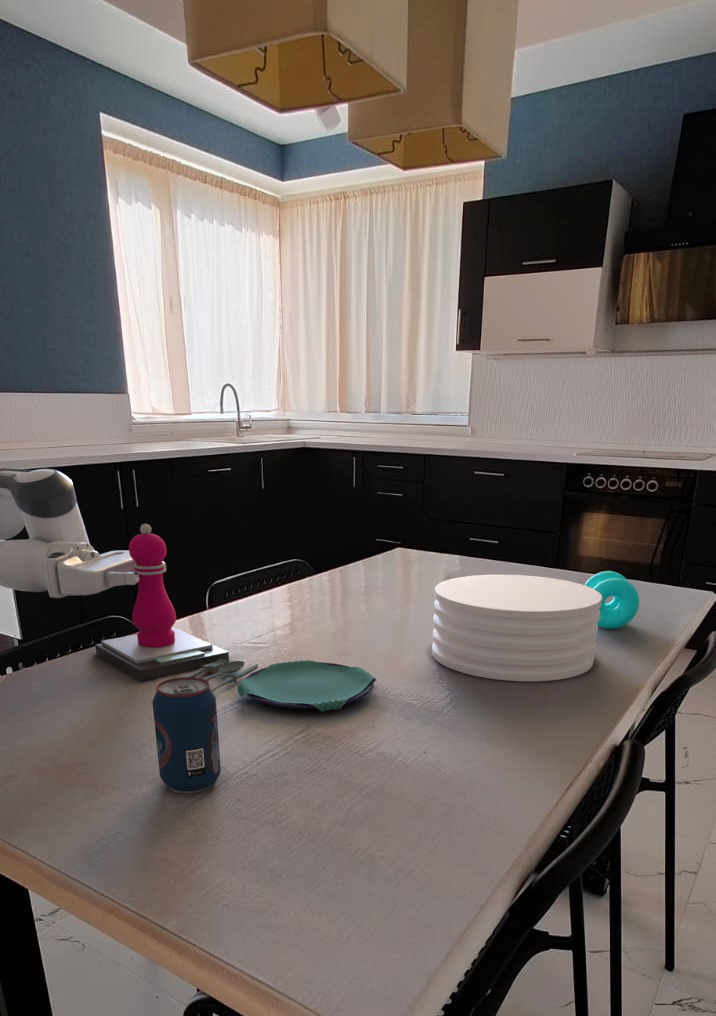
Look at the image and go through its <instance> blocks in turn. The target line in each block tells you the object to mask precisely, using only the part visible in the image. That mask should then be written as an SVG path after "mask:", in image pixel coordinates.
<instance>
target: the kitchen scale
mask: <svg viewBox="0 0 716 1016" xmlns="http://www.w3.org/2000/svg"><path fill="white" fill-rule="evenodd" d="M171 630H173V631H174V633H175V642H174V643H173V644H171V645H168V646H164V647H144V646H141V645H139V644H138V638H137V634H133V635H132V634H131V635H126V636H120V637H115V638H109V639H104V640H101V643H97V644H95V645H94V646H95V654H96V655H97V656H98V657H100V658H102V659H103V660H105V661H107V662H108V663H110V664H112V665H114V666H115V667H117V668H118V669H120V670H122V671H124V672H125V673H127V674H129V675H130V676H132V677H134V678H136V679H138V681H141V682H145V681H148V680H153V679H158V678H161V677H162V678H163V677H167V676H172V675H175V674H181V673H185V672H189V671H193V670H199V669H200V668H202V665H207V664H210V663H213V662H216V661H218V660H220V659H221V661H222V660H225V661H226V660H228V661H227V662H226V663H229V662H230V655H229V654H230V653H229V651H228V650H225V649H222V648H220V647H218V646H217V645H214V644H212V643H209V642H207V641H205V640H202V639H200V638H198V637H196V636H194V635H191V634H190V633H188V632H185V631H183V630H180V629H179V628H175V627H172V628H171Z"/></svg>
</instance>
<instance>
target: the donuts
mask: <svg viewBox="0 0 716 1016" xmlns="http://www.w3.org/2000/svg"><path fill="white" fill-rule="evenodd" d="M584 585H585V586H588V587H590V588H592V589H594V590H596V591H598V592H599V593H600V594H601V595H602V603H601V607H600V608H599V610H600V617H599V622H598V623H597V625H598V627H600V628H601V629H602V628H603V629H607V630H613V629H614V630H615V629H619V628H622V627H625V626H626V625H627V624H629V623H630V622H632V620H633V619H634V618H635V616H636V615H637V614H638V611H639V608H640V596H639V592H638V590H637V588H636V587H635V586H634V585H633V584H632V583H631V582H630V581H628V580H627V578H626V577H625V576H624V575H622V574H621V573H619V572H616V571H612V570H605V571H600V572H597V573H595V574H594V575H592V576H591V577H589V579H587V580H586V582H585V584H584ZM609 597H613V598H612V600H611V601H610V602H607V603H606V600H607V599H608V598H609Z"/></svg>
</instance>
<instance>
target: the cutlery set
mask: <svg viewBox="0 0 716 1016" xmlns="http://www.w3.org/2000/svg"><path fill="white" fill-rule="evenodd" d="M227 661H228V660H226V661H225V660H222V661H221V659H220V660H218V661H216V662H213V663H210V664H207V665H202V668H199V669H196V670H195V671H194V672H192V673H189V674H187V675H184V677H196V678H198V676H200V675H201V674H202V673H204V672H205V673H210V672H213V671H215V670H216V669H218V668H219V670H220V672H217V673H214V674H211V675H208V676H206V677H203V678H202V679H204V680H206V681H208V682H209V681H211V680H213V679H216V678H217V677H219V676H222V675H225V674H229V677H226V678H225V679H224V681H223V682H221V683H219V684H218V685H216V686H215V687H213V688H210V689H211V691H212V692H213V693H214V692H215V691H216V690H218V689H219V688H221V687H223V686H226V685H227V684H232V683H237V681H238V680H237V679H240V678H243V677H245V676H246V677H245V678H244V679H243V680H241V681H240V682H239V683H238V685H237V693H238V695H239V696H240V698H241V699H242V700H243V701H245V700H244V698H243V697H244V696H245V695H247V696H248V697H250V698H252V699H253V700H255V701H258V702H260V703H263V704H267V705H271V706H275V707H282V708H290V709H318V710H319V711H320V712H325V711H332V710H335V711H337V710H340V709H342V708H343V706H344V705H346V704H348V703H353V702H355V701H358V700H360V699H362V698H363V697H365V696H367V695H368V694H370V692H371V691H372V689H373V688H374V683H375V682H376V681H377V679H376V677H374V675H373V674H371V673H370V672H368V671H367V670H366V669H364V668H362V667H359V666H349V665H344V664H339V663H334V662H321V661H315V660H309V659H308V660H307V659H305V660H303V659H301V660H294V661H283V662H276V663H272V664H269V665H268V666H267V667H263V668H260V669H258V668H259V664H258V663H255V664H254V665H252V666H249V667H248V668H246V669H245V670H243V671H241V672H239V671H240V670H241V669H242V668H244V666H245V664H246V663H245V661H244V660H234V661H229V662H227ZM257 669H258V670H257ZM237 672H239V673H237ZM233 673H237V674H235V675H234V674H233Z"/></svg>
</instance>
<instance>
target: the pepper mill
mask: <svg viewBox="0 0 716 1016" xmlns="http://www.w3.org/2000/svg"><path fill="white" fill-rule="evenodd" d="M139 531H140V532H141V533H140V534H137V535H135V536H134V537H133V538H131V540H130V542H129V544H128V550H129V554H130V556H131V558H132V559H133V560H134V561H135V563H136V564H134V567H135V570H134V572H137V573H138V574H139V581H140V582H139V583H138V590H137V596H136V600H135V602H134V605H133V609H132V623H133V625H134V626H135V627H136V628H137V629H138V630H139V631H138V632H137V633H136V635H137V638H138V644H139V645H141V646H144V647H164V646H168V645H171V644H173V643H174V642H175V633H174V631H173V630H171V628H173V626H174V625H175V624H176V621H177V615H176V610H175V608H174V605H173V603H172V602H171V600H170V598H169V596H168V594H167V591H166V589H165V583H164V573H166V572H165V569H164V566H165V564H166V563H165V564H164V563H162V562H164V559H165V557H166V556H167V546H166V543H165V541H164V540H163V539H162V537H161V536H159V535H157V534H154V533H151V532H152V527H151V525H150V524H148V523H142V524H141V526H140V528H139Z"/></svg>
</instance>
